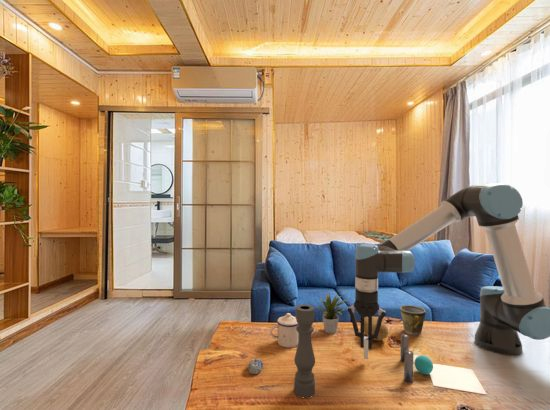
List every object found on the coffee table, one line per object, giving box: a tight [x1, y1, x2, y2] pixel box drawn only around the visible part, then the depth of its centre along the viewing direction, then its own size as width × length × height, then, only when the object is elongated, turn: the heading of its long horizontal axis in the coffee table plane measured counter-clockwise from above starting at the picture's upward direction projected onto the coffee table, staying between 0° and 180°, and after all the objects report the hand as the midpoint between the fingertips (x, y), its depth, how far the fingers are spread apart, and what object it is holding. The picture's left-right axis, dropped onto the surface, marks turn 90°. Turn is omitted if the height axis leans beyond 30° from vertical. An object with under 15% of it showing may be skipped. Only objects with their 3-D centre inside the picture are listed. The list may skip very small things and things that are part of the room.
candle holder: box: [293, 303, 316, 399], centre depth 90 cm, size 6×6×25 cm
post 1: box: [400, 333, 410, 363], centre depth 108 cm, size 3×3×9 cm
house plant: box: [316, 293, 347, 334], centre depth 132 cm, size 14×14×16 cm
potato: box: [364, 315, 389, 342], centre depth 126 cm, size 10×14×8 cm
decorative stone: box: [247, 358, 264, 375], centre depth 102 cm, size 6×4×5 cm
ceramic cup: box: [400, 304, 426, 336], centre depth 131 cm, size 13×10×10 cm
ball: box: [414, 355, 434, 375], centre depth 101 cm, size 6×6×6 cm
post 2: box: [403, 350, 414, 384], centre depth 96 cm, size 3×3×9 cm
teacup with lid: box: [269, 312, 299, 349], centre depth 121 cm, size 12×9×12 cm
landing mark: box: [428, 363, 488, 396], centre depth 98 cm, size 14×14×1 cm
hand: (365, 356), depth 106 cm, fingers closed
